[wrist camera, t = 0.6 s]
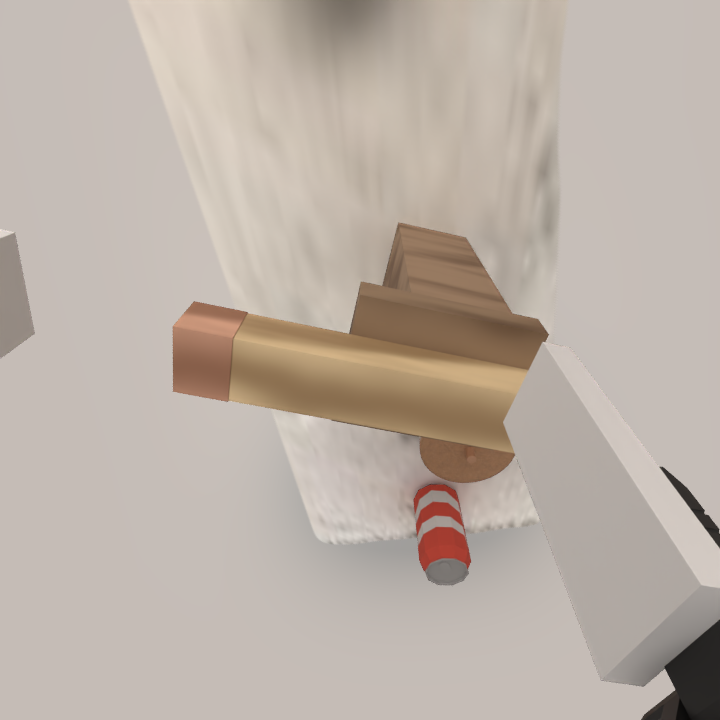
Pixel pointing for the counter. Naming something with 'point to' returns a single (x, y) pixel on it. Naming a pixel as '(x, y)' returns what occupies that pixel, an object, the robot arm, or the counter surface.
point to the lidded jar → (462, 460)
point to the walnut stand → (443, 304)
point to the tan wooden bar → (342, 377)
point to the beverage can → (441, 535)
